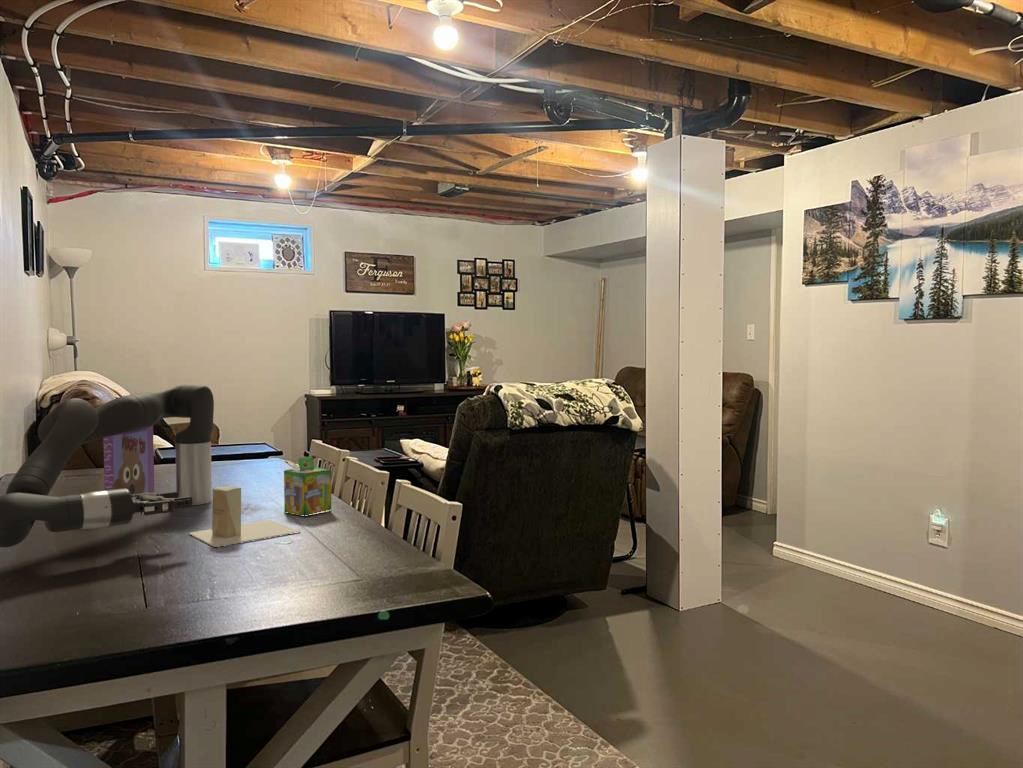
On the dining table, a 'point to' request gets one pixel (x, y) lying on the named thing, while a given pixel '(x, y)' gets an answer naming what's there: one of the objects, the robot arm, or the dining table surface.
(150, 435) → the cereal box
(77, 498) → the robot arm
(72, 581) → the dining table surface
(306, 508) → the chalk box
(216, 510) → the box
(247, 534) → the mat
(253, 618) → the dining table surface
